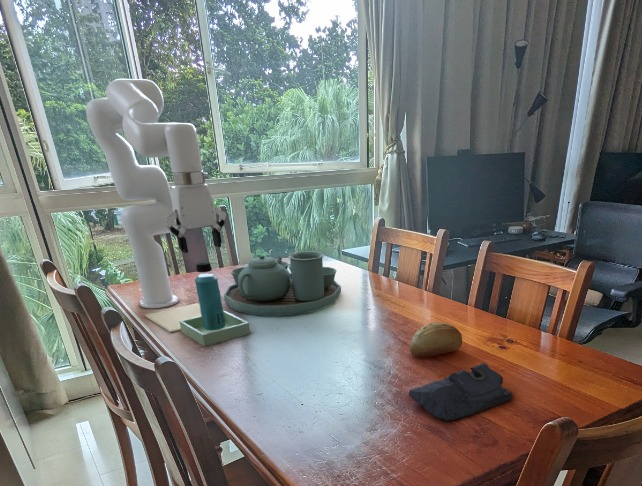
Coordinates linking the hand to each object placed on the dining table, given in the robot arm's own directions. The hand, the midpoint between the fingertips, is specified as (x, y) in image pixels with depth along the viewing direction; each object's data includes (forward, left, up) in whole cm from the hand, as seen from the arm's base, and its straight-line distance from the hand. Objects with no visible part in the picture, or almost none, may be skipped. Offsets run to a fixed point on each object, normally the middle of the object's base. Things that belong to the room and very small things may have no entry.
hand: (201, 249), depth 138 cm
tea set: (-14, +33, -24) cm, 43 cm away
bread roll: (+55, +36, -24) cm, 70 cm away
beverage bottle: (0, 0, -24) cm, 24 cm away
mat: (-19, 0, -24) cm, 31 cm away
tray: (0, 0, -24) cm, 24 cm away
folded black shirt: (+75, +21, -24) cm, 81 cm away
